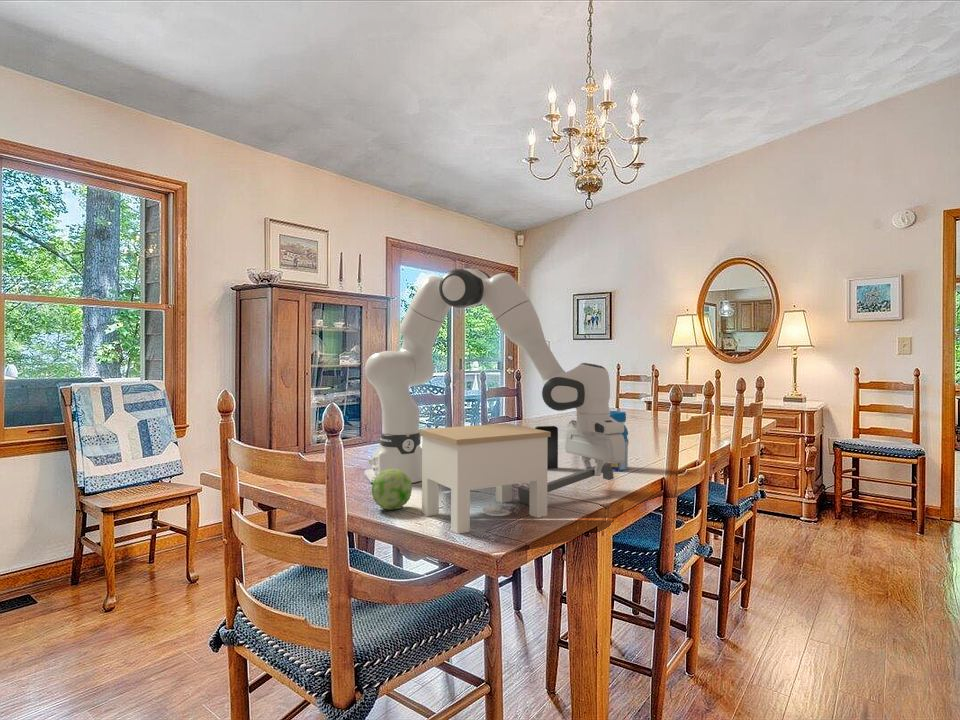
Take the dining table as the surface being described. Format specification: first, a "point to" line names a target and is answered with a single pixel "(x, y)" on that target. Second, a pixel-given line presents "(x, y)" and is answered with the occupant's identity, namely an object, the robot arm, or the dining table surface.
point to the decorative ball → (391, 489)
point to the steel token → (497, 510)
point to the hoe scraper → (567, 481)
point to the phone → (551, 446)
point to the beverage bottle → (621, 419)
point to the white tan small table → (483, 466)
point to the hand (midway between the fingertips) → (592, 474)
